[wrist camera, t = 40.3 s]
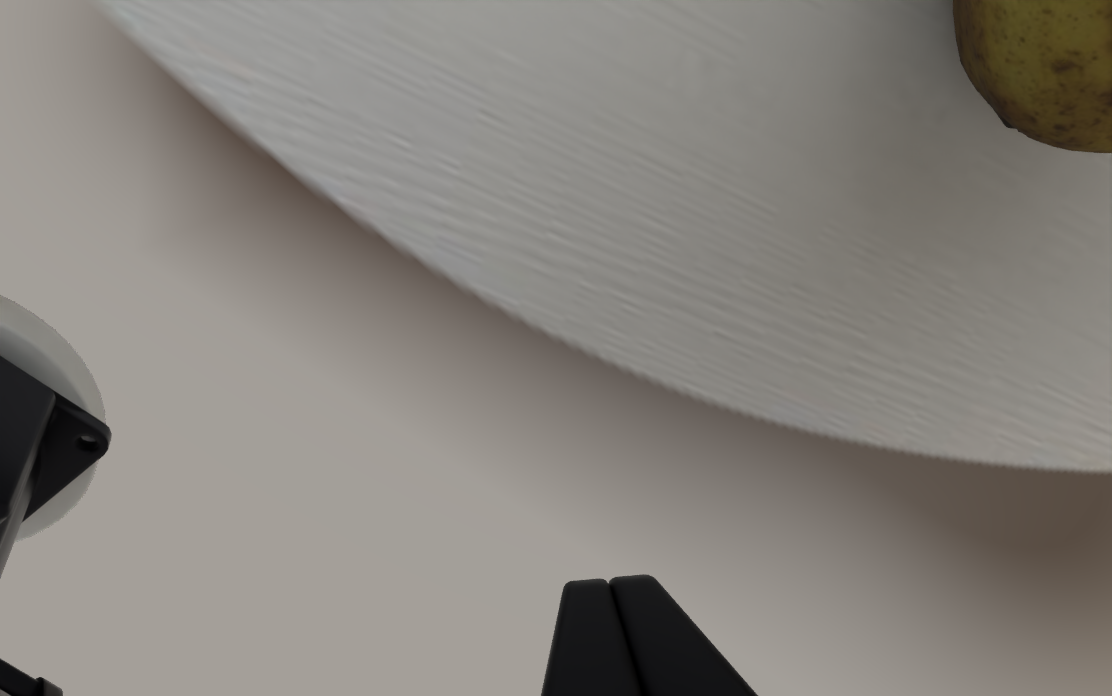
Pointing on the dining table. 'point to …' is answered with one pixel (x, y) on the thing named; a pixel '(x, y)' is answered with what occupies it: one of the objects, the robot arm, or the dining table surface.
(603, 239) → the dining table surface
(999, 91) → the potato
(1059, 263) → the dining table surface
